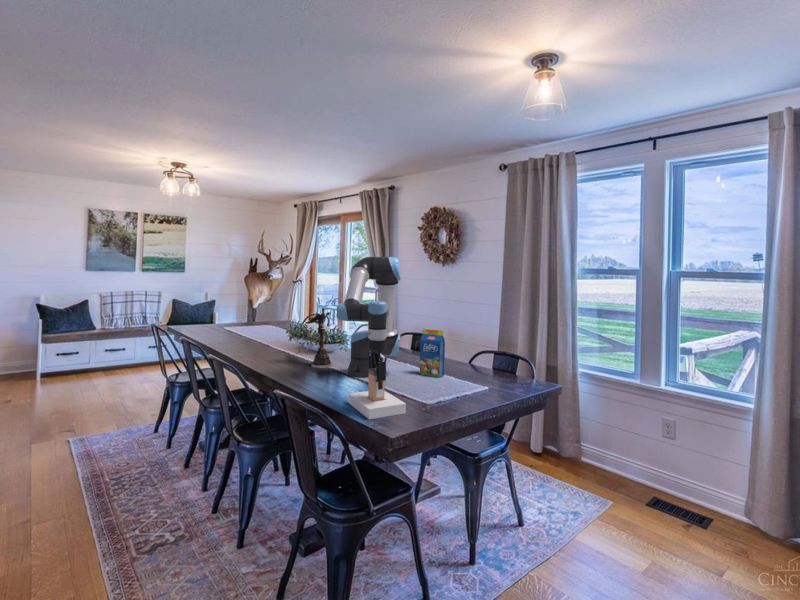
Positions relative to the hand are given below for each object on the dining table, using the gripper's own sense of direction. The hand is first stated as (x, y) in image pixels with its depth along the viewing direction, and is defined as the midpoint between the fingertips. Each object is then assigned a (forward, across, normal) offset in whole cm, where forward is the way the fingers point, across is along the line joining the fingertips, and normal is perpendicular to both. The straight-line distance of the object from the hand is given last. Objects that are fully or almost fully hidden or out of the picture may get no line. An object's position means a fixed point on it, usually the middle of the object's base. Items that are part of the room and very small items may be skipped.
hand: (376, 394), depth 174 cm
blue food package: (+6, -36, +50) cm, 62 cm away
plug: (+2, 0, 0) cm, 2 cm away
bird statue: (+6, -82, 0) cm, 82 cm away
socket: (+6, 0, 0) cm, 6 cm away
